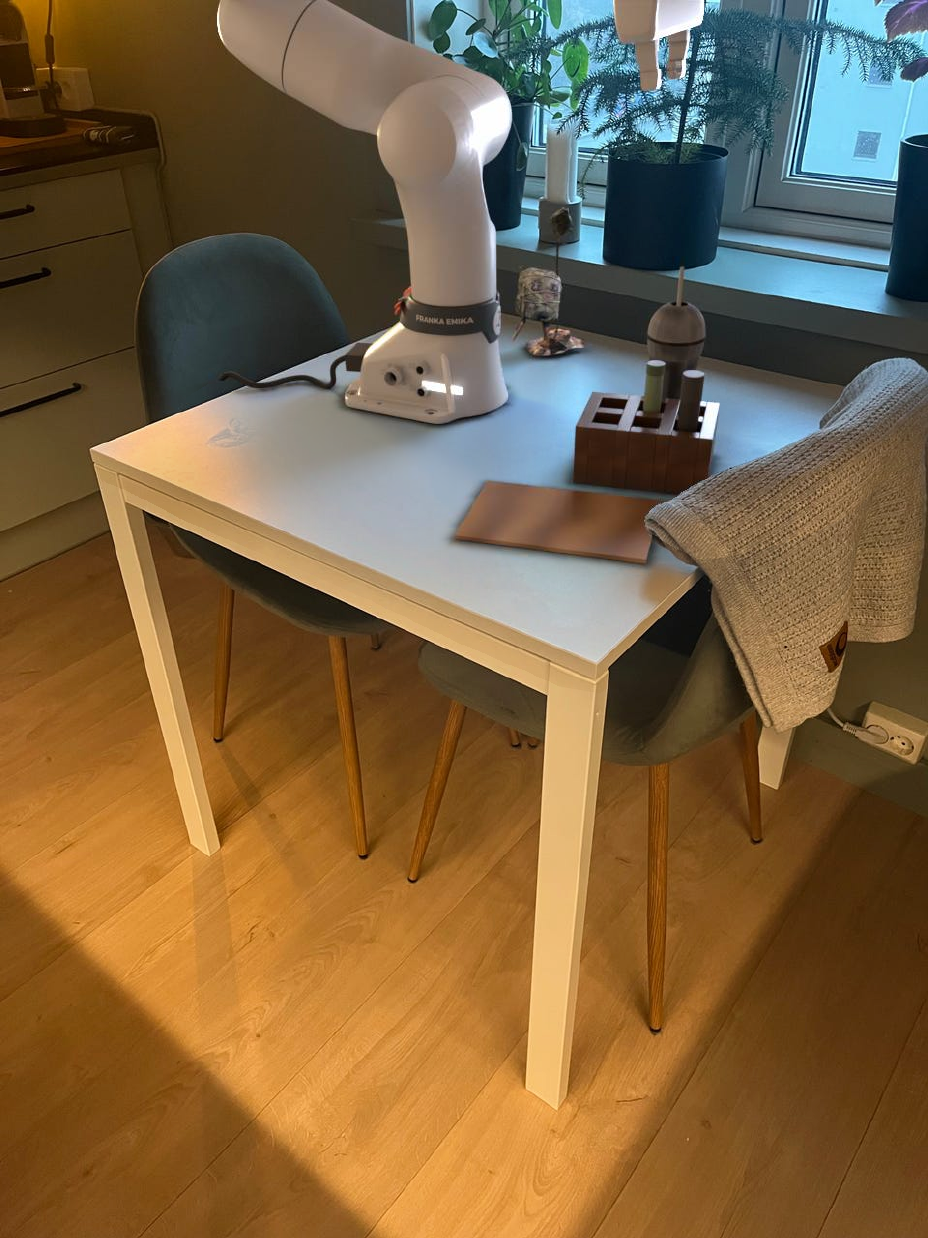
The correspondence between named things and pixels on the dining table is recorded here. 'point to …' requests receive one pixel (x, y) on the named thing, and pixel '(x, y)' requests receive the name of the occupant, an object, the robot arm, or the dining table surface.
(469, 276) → the robot arm
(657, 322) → the beverage cup
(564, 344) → the mottled grey tall piece
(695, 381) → the black marker
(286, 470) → the dining table surface
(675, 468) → the pen stand
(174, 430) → the dining table surface
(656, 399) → the sage marker
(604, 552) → the brown wooden board
